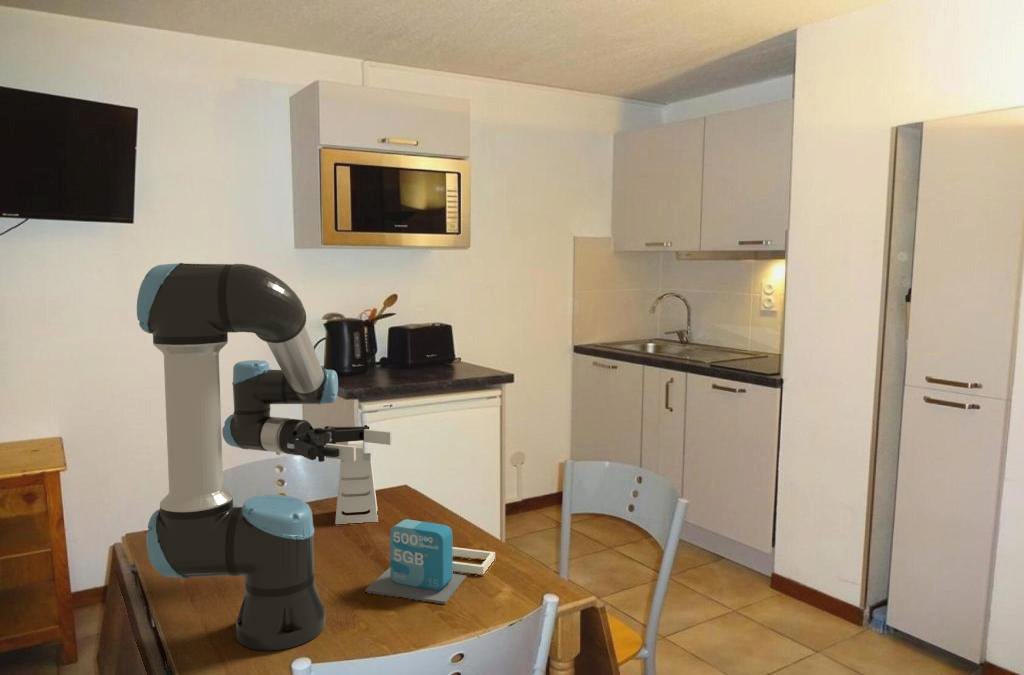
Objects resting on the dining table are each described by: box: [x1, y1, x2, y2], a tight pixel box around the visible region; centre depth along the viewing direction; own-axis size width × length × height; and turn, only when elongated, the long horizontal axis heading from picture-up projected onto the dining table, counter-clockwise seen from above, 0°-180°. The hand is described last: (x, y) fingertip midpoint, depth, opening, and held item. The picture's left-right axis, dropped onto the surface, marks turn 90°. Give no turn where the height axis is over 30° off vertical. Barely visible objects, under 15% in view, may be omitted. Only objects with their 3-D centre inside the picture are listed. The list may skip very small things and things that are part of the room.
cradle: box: [453, 546, 496, 574], centre depth 154 cm, size 8×15×2 cm, turn 74°
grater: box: [334, 440, 379, 525], centre depth 182 cm, size 10×10×20 cm
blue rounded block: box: [389, 518, 454, 591], centre depth 143 cm, size 12×4×12 cm, turn 69°
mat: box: [364, 567, 467, 605], centre depth 144 cm, size 12×17×1 cm
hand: (373, 445), depth 145 cm, fingers open, 13 cm apart
